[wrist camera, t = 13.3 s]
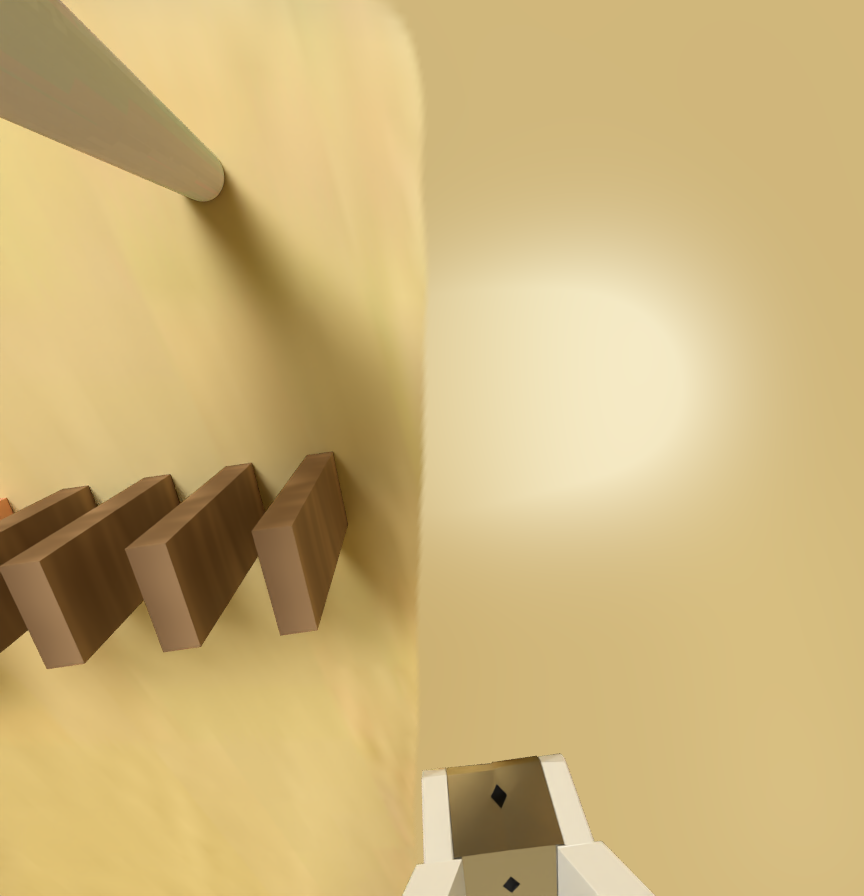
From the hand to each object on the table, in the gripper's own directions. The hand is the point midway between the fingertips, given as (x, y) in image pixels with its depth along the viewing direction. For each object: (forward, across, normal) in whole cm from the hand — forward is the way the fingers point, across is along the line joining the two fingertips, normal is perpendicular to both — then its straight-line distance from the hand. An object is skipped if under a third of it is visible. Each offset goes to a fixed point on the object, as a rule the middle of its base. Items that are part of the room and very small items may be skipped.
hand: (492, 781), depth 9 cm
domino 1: (+19, +7, 0) cm, 20 cm away
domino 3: (+19, +17, +1) cm, 26 cm away
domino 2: (+19, +12, +1) cm, 23 cm away
